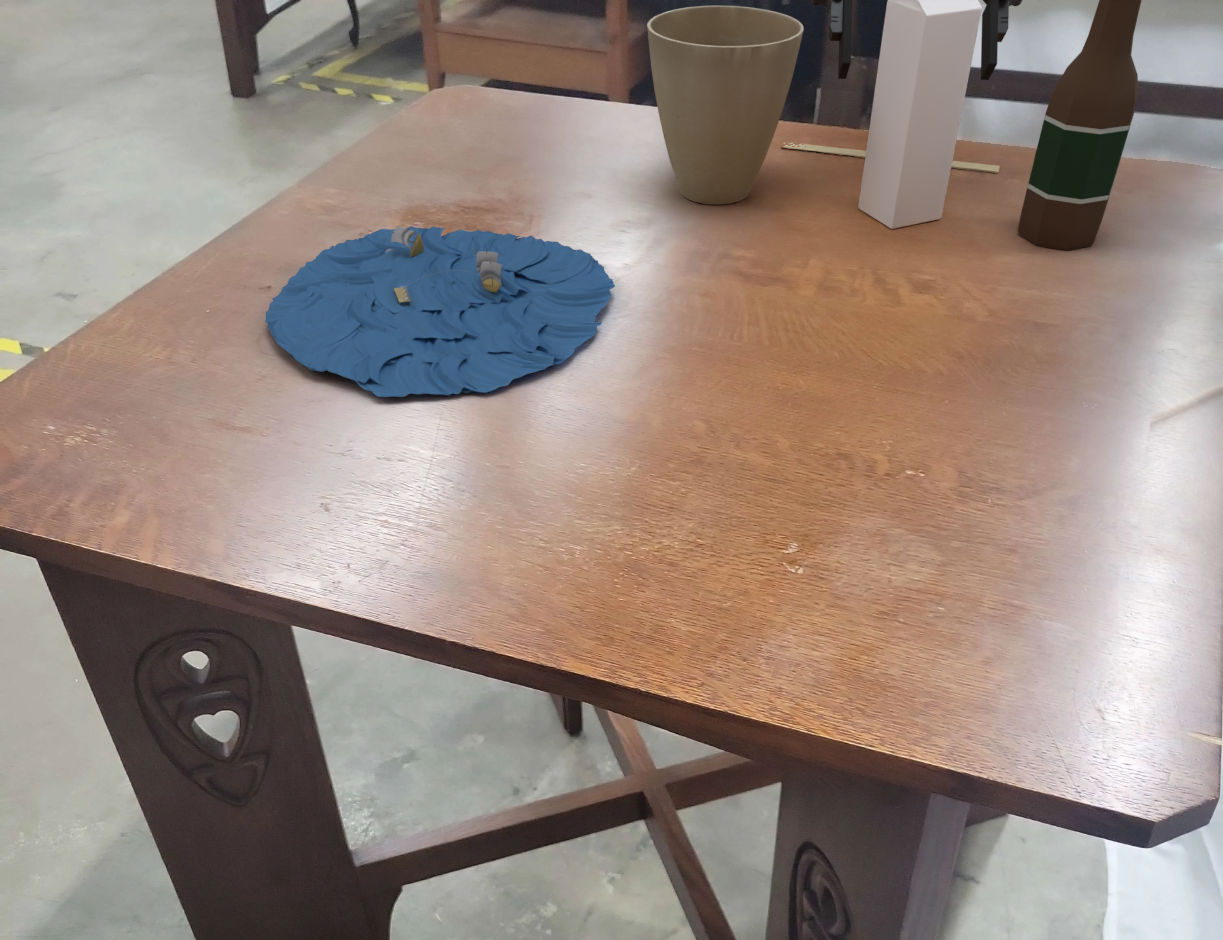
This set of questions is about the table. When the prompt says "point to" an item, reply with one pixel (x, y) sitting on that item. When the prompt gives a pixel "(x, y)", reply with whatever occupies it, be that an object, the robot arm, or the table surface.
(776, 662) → the table surface
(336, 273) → the blue crumpled disc
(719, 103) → the plant pot
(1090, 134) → the beer bottle
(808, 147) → the chopstick
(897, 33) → the milk
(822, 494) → the table surface
